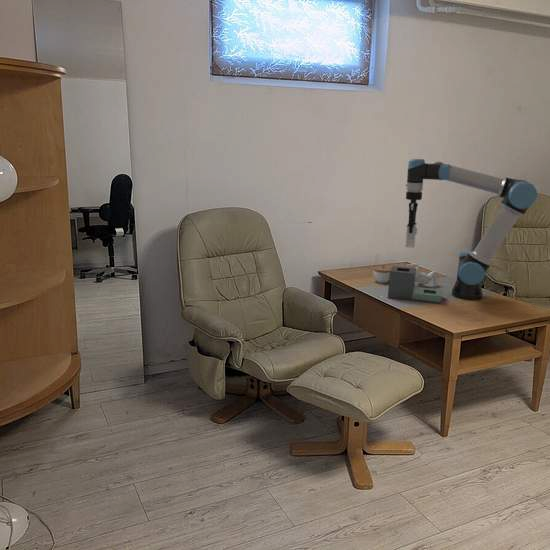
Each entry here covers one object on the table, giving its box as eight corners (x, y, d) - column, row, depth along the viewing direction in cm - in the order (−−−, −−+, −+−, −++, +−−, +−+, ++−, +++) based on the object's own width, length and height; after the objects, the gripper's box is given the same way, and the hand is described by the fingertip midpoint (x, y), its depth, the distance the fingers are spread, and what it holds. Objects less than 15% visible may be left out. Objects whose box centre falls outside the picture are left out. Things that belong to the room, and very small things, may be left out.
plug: (415, 246, 271) (417, 224, 268) (415, 247, 268) (416, 225, 265) (406, 245, 273) (407, 223, 270) (405, 247, 269) (407, 225, 266)
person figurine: (430, 263, 303) (407, 260, 294) (446, 273, 294) (423, 271, 284) (421, 283, 308) (398, 282, 298) (437, 294, 298) (414, 293, 289)
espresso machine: (442, 297, 277) (444, 271, 273) (441, 304, 266) (443, 276, 262) (390, 291, 285) (392, 265, 281) (387, 297, 274) (389, 271, 270)
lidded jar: (368, 280, 305) (369, 264, 302) (381, 278, 311) (382, 262, 308) (382, 285, 296) (384, 268, 294) (395, 282, 303) (397, 266, 300)
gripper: (408, 189, 272) (404, 235, 278) (404, 192, 257) (401, 241, 262) (423, 190, 270) (419, 236, 276) (420, 193, 254) (417, 242, 260)
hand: (410, 238), depth 269 cm, fingers closed on plug, 4 cm apart
